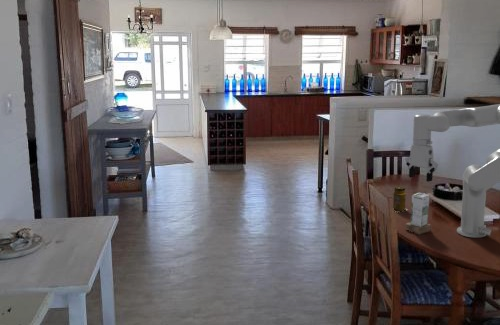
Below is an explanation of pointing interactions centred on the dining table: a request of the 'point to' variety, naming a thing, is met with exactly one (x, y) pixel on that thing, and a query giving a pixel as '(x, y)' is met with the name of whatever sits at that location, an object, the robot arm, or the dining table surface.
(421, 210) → the syrup box
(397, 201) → the condiment
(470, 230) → the robot arm
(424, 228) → the tan flat square box
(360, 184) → the dining table surface
